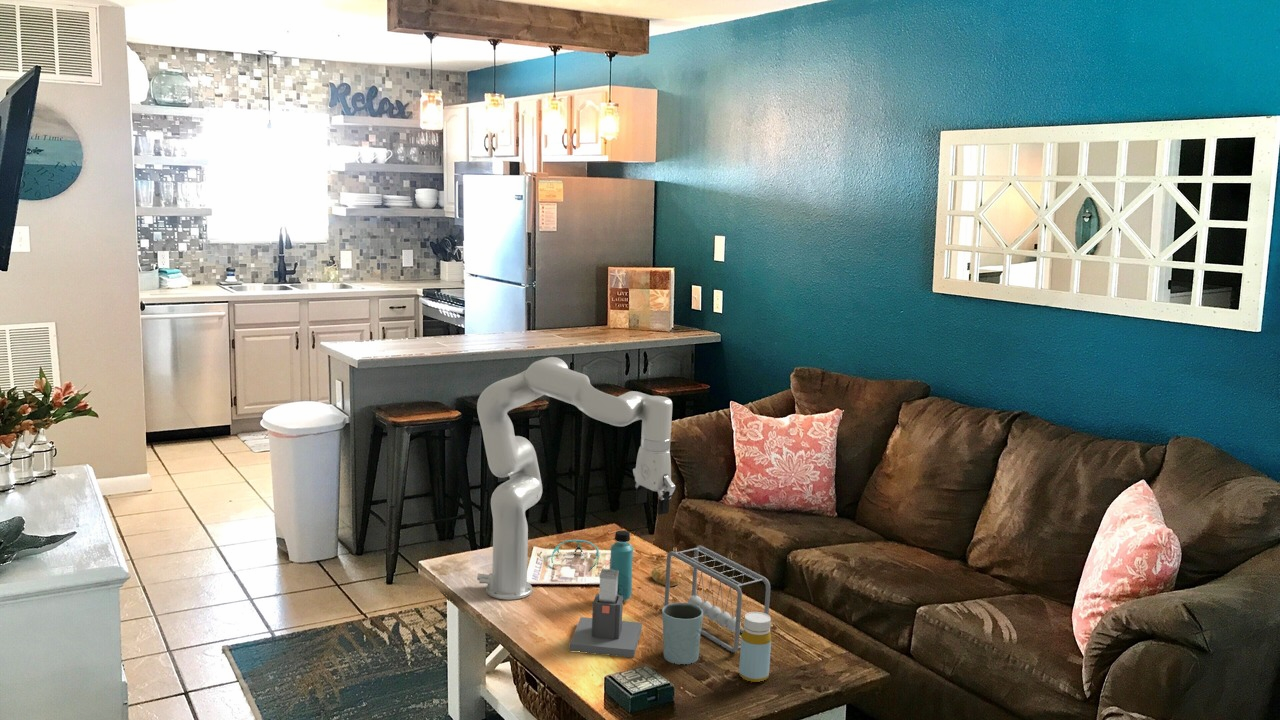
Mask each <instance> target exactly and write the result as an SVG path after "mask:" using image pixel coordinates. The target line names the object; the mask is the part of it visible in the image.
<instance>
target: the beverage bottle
mask: <svg viewBox="0 0 1280 720" xmlns="http://www.w3.org/2000/svg"><path fill="white" fill-rule="evenodd" d="M614 533H615V535H614V541H615V542H614V543H613V544H612V545H611V546H610V556H609V557H610V558H609V568H608V569H610V570H619V574H618V590H617V595H619V596H623V601H627V600H629V599H631V596H632V591H633V590H632V587H633V585H632V584H633V559H634V558H633V556H634V547H633V545H632V544H631V543H629V542H630V540H631V533H630V532H629V531H627V530H622V529H621V530H617V531H615V532H614Z"/></svg>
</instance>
